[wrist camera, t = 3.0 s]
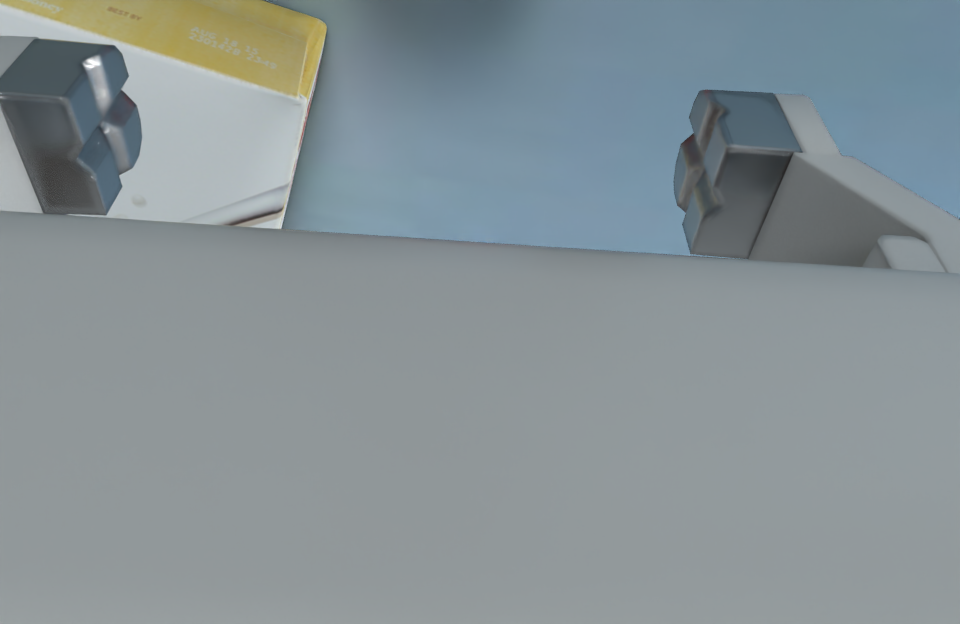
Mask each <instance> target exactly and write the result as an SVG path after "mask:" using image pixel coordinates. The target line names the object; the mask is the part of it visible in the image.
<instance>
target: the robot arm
mask: <svg viewBox="0 0 960 624" xmlns="http://www.w3.org/2000/svg"><path fill="white" fill-rule="evenodd" d="M128 77H129V74H128V71H127V68H126V64H125V61H124V58H123V54H122V53H121V52H120V51H119V50H118V48H117V47H116V46H115V45H108V44H97V43H86V42H76V41H65V40H54V39H44V38H43V39H40V38H38V37H25V36H0V624H960V219H958V218H956V217H955V216H953V215H951V214H950V213H948V212H946V211H945V210H943V209H941V208H939V207H938V206H936V205H934V204H933V203H931V202H929V201H928V200H926V199H924V198H922V197H921V196H919V195H917V194H916V193H914V192H912V191H910V190H909V189H907V188H905V187H904V186H902V185H900V184H899V183H897V182H895V181H893V180H892V179H890V178H888V177H887V176H885V175H883V174H882V173H880V172H878V171H876V170H875V169H873V168H871V167H870V166H868V165H866V164H865V163H863V162H861V161H859V160H858V159H856V158H854V157H852V156H842V155H841V153H840V151H839V149H838V148H837V146H836V144H835V142H834V140H833V139H832V137H831V135H830V133H829V132H828V130H827V128H826V126H825V124H824V123H823V121H822V119H821V117H820V115H819V114H818V112H817V110H816V108H815V106H814V105H813V103H812V101H811V99H810V98H809V97H807V96H805V95H801V94H773V93H764V92H744V91H724V90H702V91H699V93H698V95H697V97H696V99H695V101H694V103H693V106H692V109H691V113H690V116H689V119H690V122H691V125H692V128H693V132H694V133H693V134H692V135H691V136H690V137H688V138H687V139H686V140H685V141H684V142H683V143H681V146H680V149H679V153H678V157H677V161H676V165H675V174H674V194H675V199H676V203H677V206H679V207H680V208H681V209H682V210H684V211H685V212H686V215H685V218H684V221H683V224H682V225H683V229H684V233H685V236H686V240H687V243H688V247H689V250H690V254H696V255H707V256H718V257H729V258H715V257H700V256H684V255H669V254H654V253H638V252H623V251H608V250H592V249H577V248H562V247H546V246H531V245H515V244H500V243H485V242H469V241H454V240H439V239H424V238H409V237H393V236H378V235H363V234H348V233H333V232H318V231H302V230H287V229H272V228H257V227H242V226H226V225H211V224H196V223H181V222H166V221H151V220H135V219H120V218H105V217H90V216H75V215H60V214H78V215H103V216H106V215H107V213H108V212H109V210H110V208H111V206H112V205H113V203H114V201H115V199H116V198H117V196H118V194H119V192H120V190H121V189H122V183H121V180H120V177H119V175H121V174H123V173H125V172H127V171H129V170H130V169H132V168H133V167H134V165H135V163H136V161H137V159H138V157H139V155H140V148H141V142H142V129H141V120H140V116H139V112H138V108H137V105H136V104H135V103H134V102H133V101H132V100H131V99H130V98H129V96H128V95H127V94H126V93H125V92H124V91H123V90H122V88H123V86H124V85H125V83H126V81H127V79H128ZM44 213H53V214H44ZM730 258H740V259H730ZM746 259H748V260H746Z"/></svg>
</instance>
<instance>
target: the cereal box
mask: <svg viewBox="0 0 960 624" xmlns="http://www.w3.org/2000/svg"><path fill="white" fill-rule="evenodd" d="M326 31H327V27H326V24H325V23H324V22H323V21H321V20H320V19H318V18H315V17H312V16H309V15H306V14H303V13H300V12H297V11H293V10H290V9H287V8H284V7H281V6H278V5H275V4H272V3H269V2H266V1H263V0H0V36H25V37H38V38H40V39H43V38H44V39H54V40H65V41H76V42H86V43H97V44H108V45H115V46H116V47H117V48H118V50H119V51H120V52H121V53H122V54H123V58H124V61H125V64H126V68H127V71H128V74H129V77H128V79H127V81H126V83H125V85H124V86H123V88H122V90H123V91H124V92H125V93H126V94H127V95H128V96H129V98H130V99H131V100H132V101H133V102H134V103H135V104H136V105H137V108H138V112H139V116H140V120H141V129H142V142H141V148H140V155H139V157H138V159H137V161H136V163H135V165H134V167H133V168H132V169H130V170H129V171H127V172H125V173H123V174H121V175H119V177H120V180H121V183H122V189H121V190H120V192H119V194H118V196H117V198H116V199H115V201H114V203H113V205H112V206H111V208H110V210H109V212H108V213H107V215H106V216H103V215H78V214H60V215H75V216H90V217H105V218H120V219H135V220H151V221H166V222H181V223H196V224H211V225H226V226H242V227H257V228H272V229H281V228H282V224H283V220H284V216H285V211H286V207H287V203H288V199H289V195H290V190H291V186H292V182H293V178H294V173H295V169H296V165H297V160H298V156H299V152H300V149H301V145H302V140H303V135H304V131H305V127H306V122H307V118H308V114H309V110H310V106H311V101H312V97H313V93H314V89H315V85H316V80H317V76H318V71H319V67H320V62H321V57H322V52H323V47H324V41H325V36H326ZM44 214H53V213H44Z"/></svg>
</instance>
